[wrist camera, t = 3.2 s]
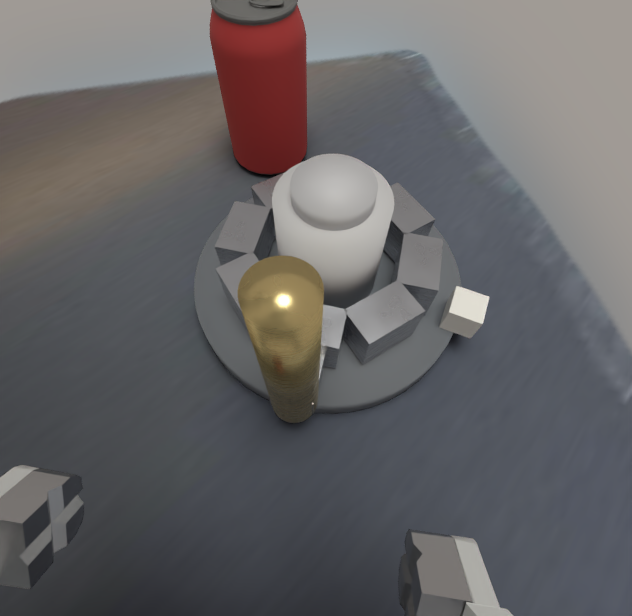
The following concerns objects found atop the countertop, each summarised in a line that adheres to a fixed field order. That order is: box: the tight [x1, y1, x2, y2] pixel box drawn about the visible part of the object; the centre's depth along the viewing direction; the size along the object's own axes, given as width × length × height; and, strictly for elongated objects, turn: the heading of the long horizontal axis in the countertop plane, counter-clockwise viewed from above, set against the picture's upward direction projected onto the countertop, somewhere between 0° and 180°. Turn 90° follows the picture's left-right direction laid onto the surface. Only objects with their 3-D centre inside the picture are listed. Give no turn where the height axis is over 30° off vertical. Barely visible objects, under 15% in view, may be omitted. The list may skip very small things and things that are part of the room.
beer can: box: [210, 0, 307, 175], centre depth 30 cm, size 7×7×12 cm
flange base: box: [194, 154, 489, 414], centre depth 24 cm, size 19×18×10 cm
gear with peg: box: [215, 172, 443, 423], centre depth 20 cm, size 17×13×12 cm
